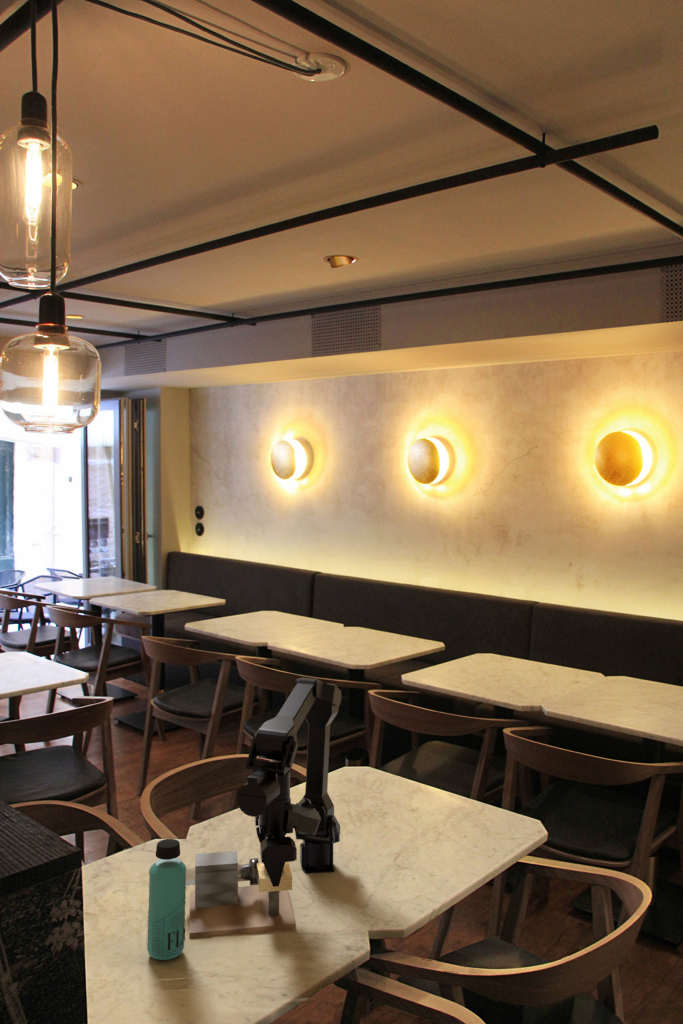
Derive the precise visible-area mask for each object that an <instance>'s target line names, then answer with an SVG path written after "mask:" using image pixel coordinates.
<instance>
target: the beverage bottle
mask: <svg viewBox="0 0 683 1024" xmlns="http://www.w3.org/2000/svg"><path fill="white" fill-rule="evenodd" d="M180 844H181V843H180V841H179V840H177V839H174V838H165V839H162V840H160V841H158V842H157V843H156V848H155V857H156V858H157V860H156V861H155V862H153V863H152V865H151V866H150V867H149V869H148V875H149V880H148V881H149V883H148V888H149V889H148V909H147V912H148V913H147V914H148V915H147V917H146V918H147V920H146V921H147V924H146V925H147V929H146V930H147V932H146V934H147V937H146V940H147V942H146V948H145V949H147V953H148V955H149V956H150V958H153V959H154V960H155V959H156V960H162V961H166V960H171V959H174V958H175V959H176V957H178V956H180V955H181V954H182V953H183V951H184V948H185V942H186V925H187V924H186V917H185V916H186V914H187V913H186V903H187V901H186V898H187V896H186V889H187V886H186V884H185V879H186V869H187V867H186V864H185V863H184V862H183V861H182V860H181V859H179V856H181V845H180Z"/></svg>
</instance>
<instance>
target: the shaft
mask: <svg viewBox="0 0 683 1024" xmlns="http://www.w3.org/2000/svg"><path fill="white" fill-rule="evenodd" d="M258 863H259V857H254V858H249V862H248V863H241V864H238V883H239V882H247V881H248V882H249V886H257V885H258V880H257V864H258ZM185 884H186V887H187V886H188V887H189V886H195V867H191V868H186V879H185Z"/></svg>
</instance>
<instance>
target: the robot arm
mask: <svg viewBox="0 0 683 1024" xmlns="http://www.w3.org/2000/svg"><path fill="white" fill-rule="evenodd" d="M341 702H342V691H341V689H340V688H338V686H337V684H336V683H326V682H323V681H321V680H319V679H318V678H310V677H300V678H296V680H295V682H294V686H293V689H292V691H291V693H290V694H289V696H288V697H287V699H286V701H285V702H284V704H283V705H282V707H281V708H280V710H279V711H278V713H277V714H276V716H275V717H273V718H270V719H269V720H266V721H264V723H262V725H261V726H260V727H259V728H258V729H257V731H256V732H255V733H254V735H253V738H252V741H251V745H250V749H249V753H248V756H247V760H246V765H245V770H246V771H247V770H248V771H252V773H251V774H249V776H247V779H246V783H245V784H243V785H242V786H241V787H240V788H239V790H238V792H237V794H236V802H237V806H238V808H239V809H240V811H241V812H242V813H243V814H245V815H246V816H248V817H250V818H251V817H253V818H254V825H255V827H256V828H255V831H256V836H257V839H258V841H259V850H260V851H259V855H260V860H261V863H263V864H264V866H265V868H266V871H267V873H268V875H269V878H270V880H271V883H272V885H273V887H276V886H279V884H280V880H281V876H282V872H283V868H284V865H285V862H289V863H290V862H291V863H292V862H295V861H297V857H298V856H297V855H298V854H297V850H298V849H297V846H296V841H295V840H294V839H293V838H292V837H290V836H286V835H287V834H294V835H295V839H296V840H302V843H300V844H299V863H300V867H301V868H303V872H304V874H321V873H334V872H335V869H336V868H335V865H334V844H336V843H339V842H340V841H341V839H340V838H341V835H340V834H341V824H340V823H339V821H338V819H337V818H336V815H335V804H334V803H333V801H332V799H331V797H330V795H329V793H328V783H329V780H328V779H329V763H330V762H329V758H330V737H331V724H332V723H333V721H334V719H335V718H336V717H337V715H338V713H339V710H340V709H339V708H340V705H341ZM304 720H305V721H306V723H307V726H308V727H307V728H308V729H307V730H308V732H307V752H306V770H305V771H306V772H305V792H304V795H303V796H302V798H301V799H300V800H299V802H296V803H292V799H291V769H292V767H293V765H294V760H295V759H296V754H297V751H298V747H299V744H298V738H297V737H298V736H297V733H298V731H299V729H300V728H301V726H302V724H303V722H304ZM259 759H263V760H259ZM264 759H265V760H264ZM267 760H269V761H267Z"/></svg>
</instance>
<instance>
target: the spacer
mask: <svg viewBox="0 0 683 1024" xmlns="http://www.w3.org/2000/svg"><path fill="white" fill-rule="evenodd" d="M257 880H258V887H259V893H260V892H271V891H283V890H288V891H292V890H293V875H292V871H291V866H290V862H285V865H284V868H283V872H282V876H281V880H280V884H279V886H276V887H273V885H272V883H271V880H270V878H269V875H268V873H267V871H266V868H265V866H264V864H263V863H262V862H260V863H258V864H257Z"/></svg>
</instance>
